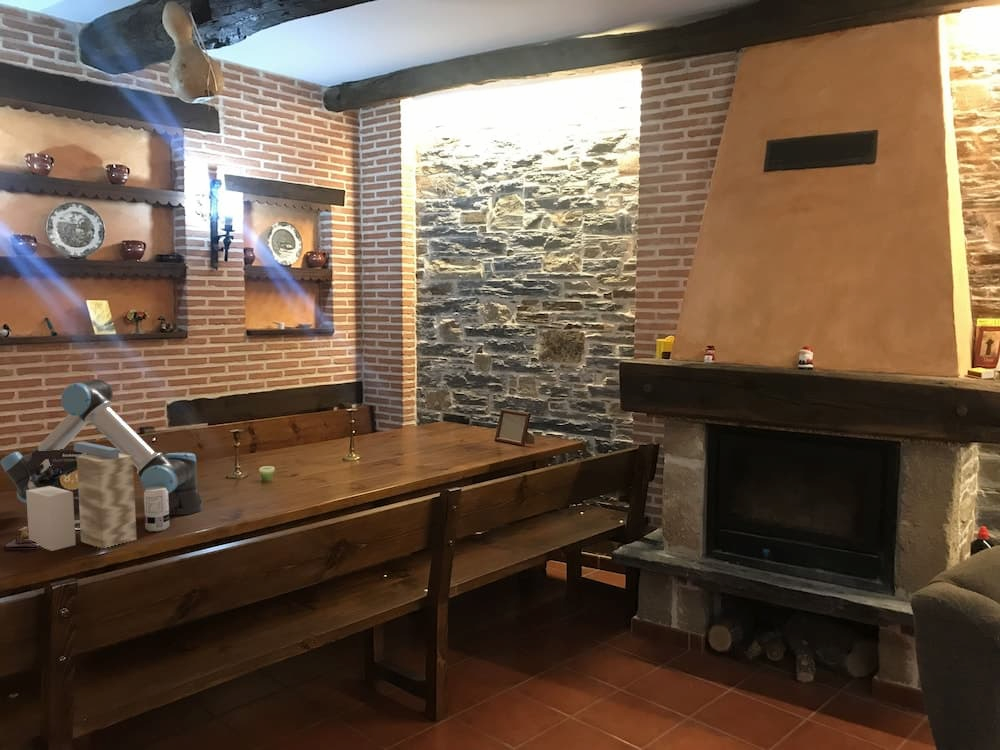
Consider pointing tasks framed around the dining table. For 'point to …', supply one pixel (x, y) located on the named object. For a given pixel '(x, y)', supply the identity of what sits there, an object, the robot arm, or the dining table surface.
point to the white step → (51, 517)
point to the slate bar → (96, 450)
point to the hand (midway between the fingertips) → (67, 458)
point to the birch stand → (106, 500)
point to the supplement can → (156, 508)
